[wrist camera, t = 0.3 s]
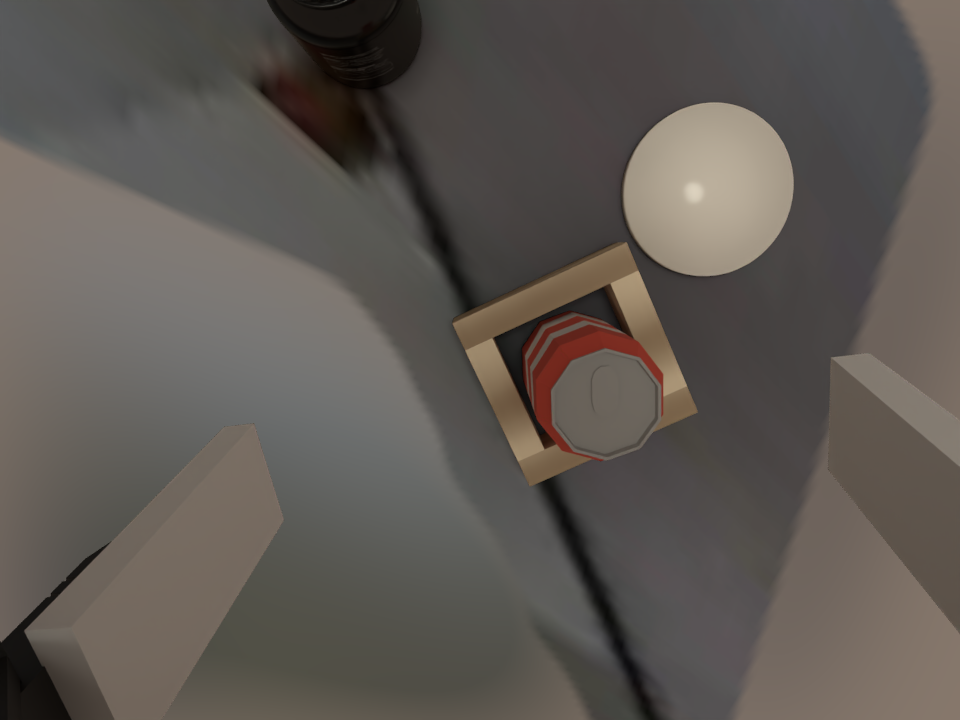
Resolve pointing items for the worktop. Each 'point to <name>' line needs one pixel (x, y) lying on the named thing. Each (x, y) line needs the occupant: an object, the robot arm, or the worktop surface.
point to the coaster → (707, 189)
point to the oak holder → (543, 296)
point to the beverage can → (591, 386)
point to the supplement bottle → (355, 36)
